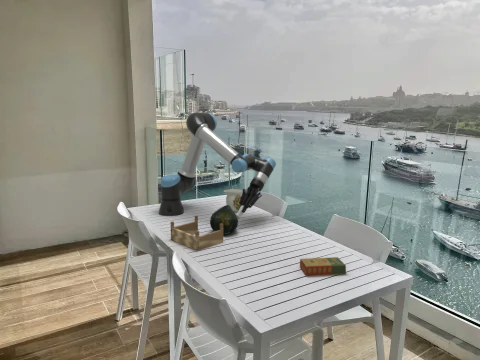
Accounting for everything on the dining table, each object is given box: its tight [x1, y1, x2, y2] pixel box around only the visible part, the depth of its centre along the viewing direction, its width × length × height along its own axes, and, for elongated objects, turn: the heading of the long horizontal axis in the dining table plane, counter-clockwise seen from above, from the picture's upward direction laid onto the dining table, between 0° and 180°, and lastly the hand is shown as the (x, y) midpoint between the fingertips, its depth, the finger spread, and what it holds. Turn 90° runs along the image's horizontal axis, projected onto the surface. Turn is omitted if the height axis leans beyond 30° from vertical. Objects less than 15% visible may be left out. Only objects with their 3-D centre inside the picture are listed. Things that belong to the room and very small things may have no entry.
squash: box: [209, 204, 239, 235], centre depth 181 cm, size 14×15×15 cm
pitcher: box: [223, 188, 243, 213], centre depth 222 cm, size 11×18×14 cm, turn 122°
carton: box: [299, 256, 347, 277], centre depth 138 cm, size 8×16×4 cm, turn 97°
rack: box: [169, 214, 224, 251], centre depth 169 cm, size 20×16×9 cm
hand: (238, 216), depth 187 cm, fingers closed
